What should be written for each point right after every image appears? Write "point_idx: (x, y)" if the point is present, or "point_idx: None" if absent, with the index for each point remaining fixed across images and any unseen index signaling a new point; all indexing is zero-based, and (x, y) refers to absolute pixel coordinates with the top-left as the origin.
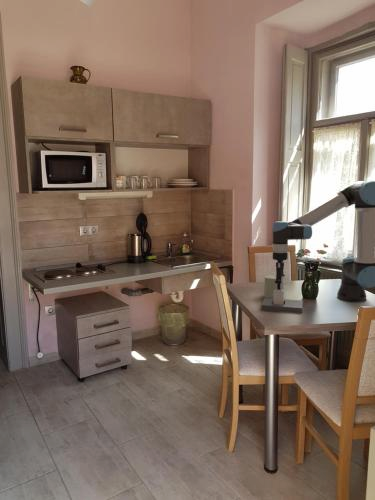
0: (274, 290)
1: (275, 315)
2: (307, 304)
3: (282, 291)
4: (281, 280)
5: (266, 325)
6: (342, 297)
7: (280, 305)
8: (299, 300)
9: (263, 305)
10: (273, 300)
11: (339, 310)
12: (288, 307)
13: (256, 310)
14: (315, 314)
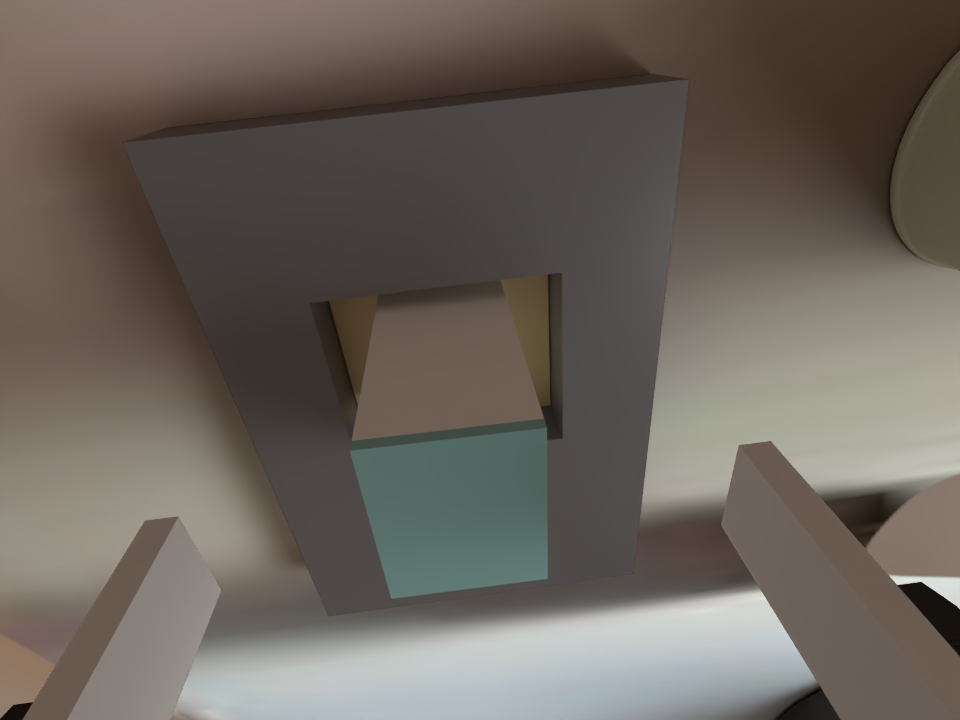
0: (487, 445)
1: (53, 380)
2: (653, 554)
3: (463, 575)
4: (863, 702)
5: None
6: (825, 715)
7: (302, 429)
8: (630, 551)
9: (141, 184)
10: (373, 342)
11: (540, 711)
12: (287, 513)
13: (63, 39)
14: (358, 638)
